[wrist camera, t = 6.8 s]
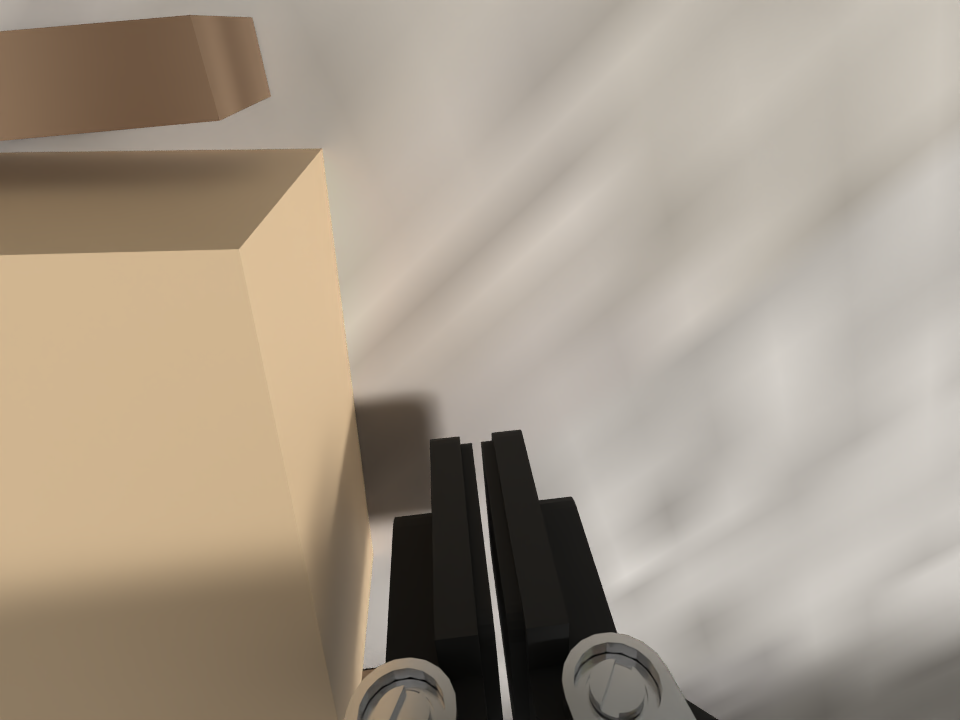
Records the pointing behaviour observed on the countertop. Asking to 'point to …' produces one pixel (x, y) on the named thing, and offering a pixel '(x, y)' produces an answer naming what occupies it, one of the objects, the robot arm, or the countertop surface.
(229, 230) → the kraft carton
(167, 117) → the stand
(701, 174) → the countertop surface
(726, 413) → the countertop surface
